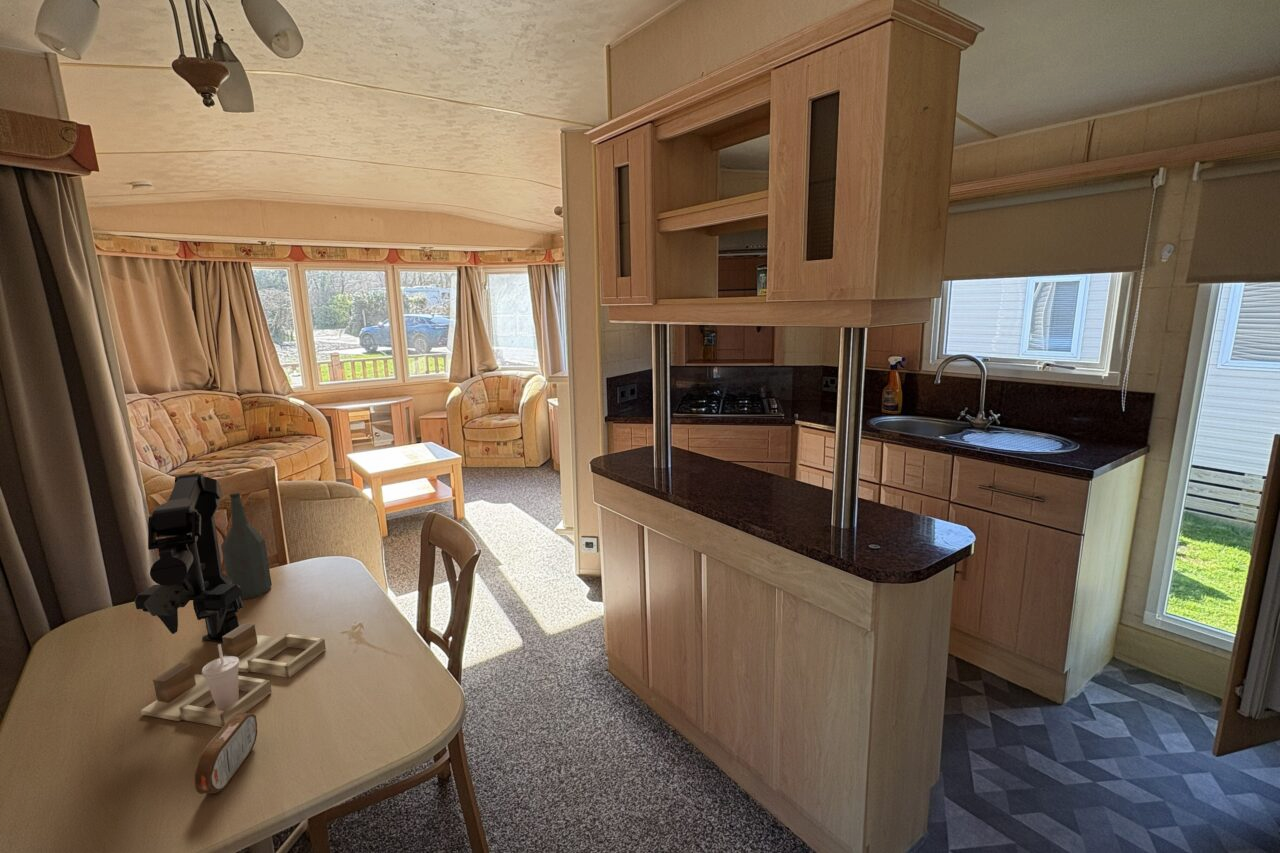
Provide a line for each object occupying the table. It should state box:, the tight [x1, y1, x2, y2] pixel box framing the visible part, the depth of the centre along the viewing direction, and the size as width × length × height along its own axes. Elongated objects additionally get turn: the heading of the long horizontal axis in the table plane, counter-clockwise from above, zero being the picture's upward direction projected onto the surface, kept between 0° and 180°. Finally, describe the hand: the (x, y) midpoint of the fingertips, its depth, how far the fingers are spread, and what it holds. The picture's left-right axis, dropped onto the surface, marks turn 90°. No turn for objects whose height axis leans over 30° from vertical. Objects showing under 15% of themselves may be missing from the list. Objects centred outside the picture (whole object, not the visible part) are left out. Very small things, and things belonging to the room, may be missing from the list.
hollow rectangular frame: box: [222, 622, 327, 678], centre depth 139 cm, size 20×12×6 cm, turn 77°
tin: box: [193, 712, 258, 795], centre depth 106 cm, size 15×3×8 cm, turn 5°
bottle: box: [220, 491, 273, 600], centre depth 169 cm, size 10×10×30 cm
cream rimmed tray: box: [140, 662, 273, 728], centre depth 124 cm, size 20×12×6 cm, turn 77°
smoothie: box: [201, 643, 240, 711], centre depth 122 cm, size 6×6×14 cm
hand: (196, 632), depth 127 cm, fingers open, 9 cm apart
